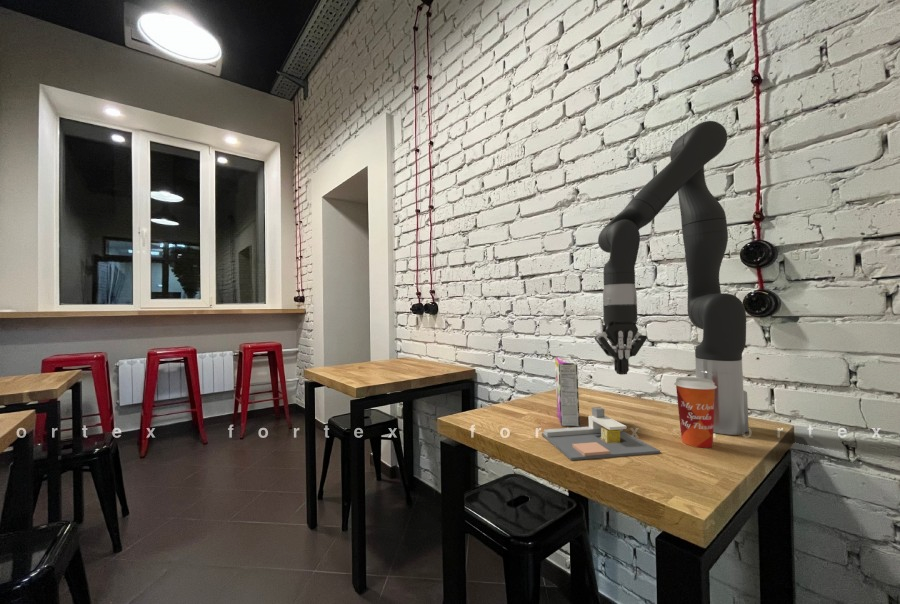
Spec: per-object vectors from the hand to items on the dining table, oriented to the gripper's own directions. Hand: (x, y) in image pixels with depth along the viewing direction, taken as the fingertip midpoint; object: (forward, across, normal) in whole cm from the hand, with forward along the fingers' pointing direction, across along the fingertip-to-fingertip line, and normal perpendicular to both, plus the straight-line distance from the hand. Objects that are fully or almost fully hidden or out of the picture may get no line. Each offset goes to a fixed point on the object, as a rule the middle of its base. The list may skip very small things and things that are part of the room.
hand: (621, 373), depth 87 cm
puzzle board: (+14, +10, +6) cm, 18 cm away
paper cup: (+14, -11, +10) cm, 21 cm away
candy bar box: (+14, +9, -11) cm, 20 cm away
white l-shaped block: (+13, +6, +3) cm, 15 cm away
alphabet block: (+14, +6, +5) cm, 17 cm away
